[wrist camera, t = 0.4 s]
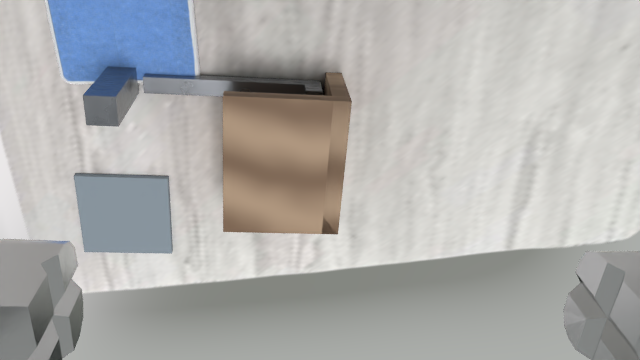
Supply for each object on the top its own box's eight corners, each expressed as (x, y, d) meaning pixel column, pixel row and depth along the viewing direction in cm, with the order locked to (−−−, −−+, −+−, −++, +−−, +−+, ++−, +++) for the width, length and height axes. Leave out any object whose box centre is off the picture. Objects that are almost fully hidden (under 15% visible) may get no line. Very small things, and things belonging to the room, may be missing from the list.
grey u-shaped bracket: (108, 65, 52) (82, 95, 45) (320, 75, 54) (327, 106, 47) (119, 180, 57) (98, 223, 50) (312, 186, 59) (317, 228, 52)
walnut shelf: (228, 67, 53) (222, 95, 46) (341, 73, 54) (351, 101, 48) (228, 190, 59) (223, 231, 52) (330, 193, 60) (337, 234, 54)
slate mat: (75, 173, 57) (73, 176, 56) (168, 176, 58) (167, 178, 57) (86, 248, 61) (84, 251, 61) (172, 250, 62) (171, 253, 62)
